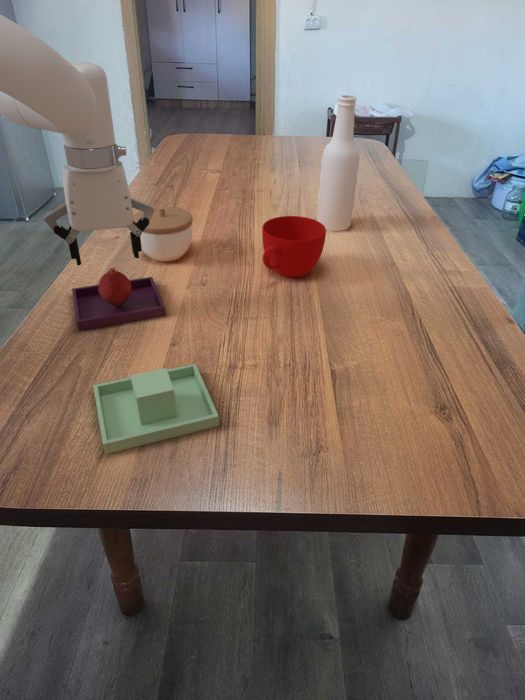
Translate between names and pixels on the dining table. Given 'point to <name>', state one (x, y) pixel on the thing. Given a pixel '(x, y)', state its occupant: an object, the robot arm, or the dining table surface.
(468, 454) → the dining table surface
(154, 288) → the plum tray
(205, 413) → the sage tray
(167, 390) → the sage block
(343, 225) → the alcohol
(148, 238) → the lidded bowl
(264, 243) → the ceramic cup
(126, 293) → the red pomegranate
